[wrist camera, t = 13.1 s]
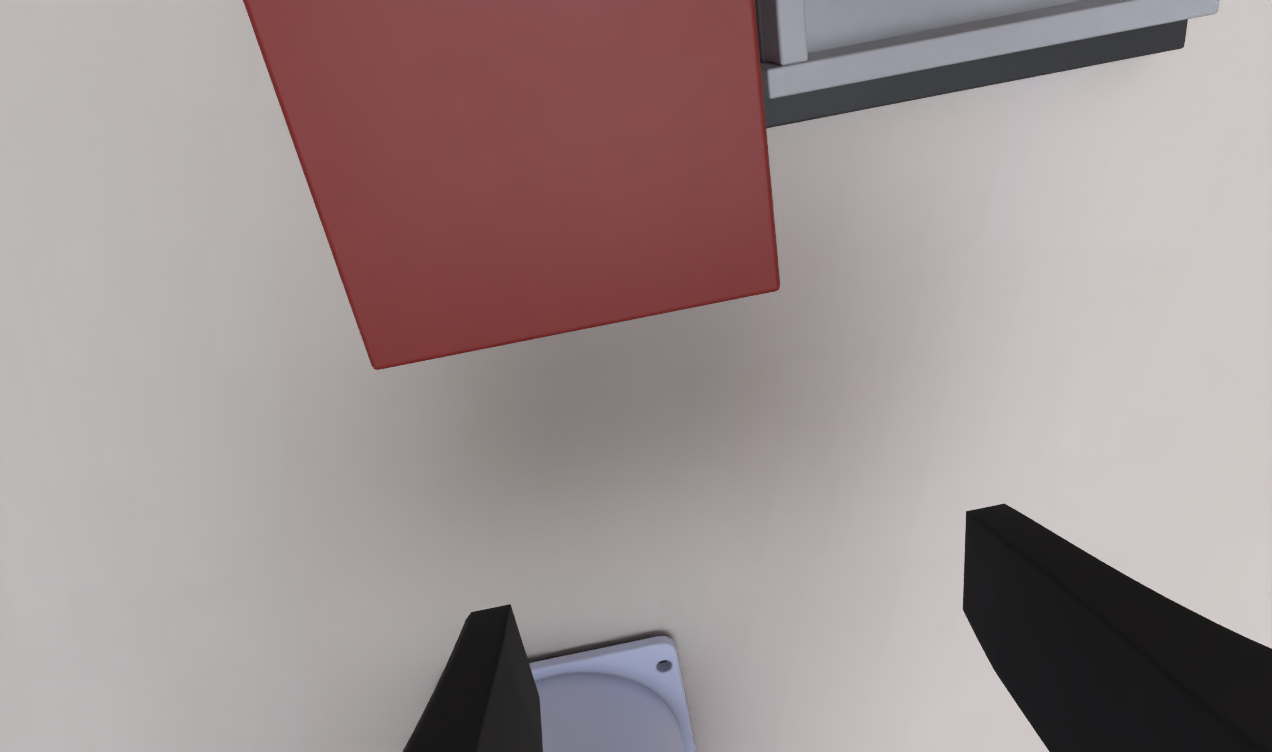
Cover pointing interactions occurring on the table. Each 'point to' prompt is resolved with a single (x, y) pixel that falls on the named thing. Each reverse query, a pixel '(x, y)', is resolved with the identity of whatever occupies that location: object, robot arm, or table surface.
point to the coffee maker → (609, 138)
